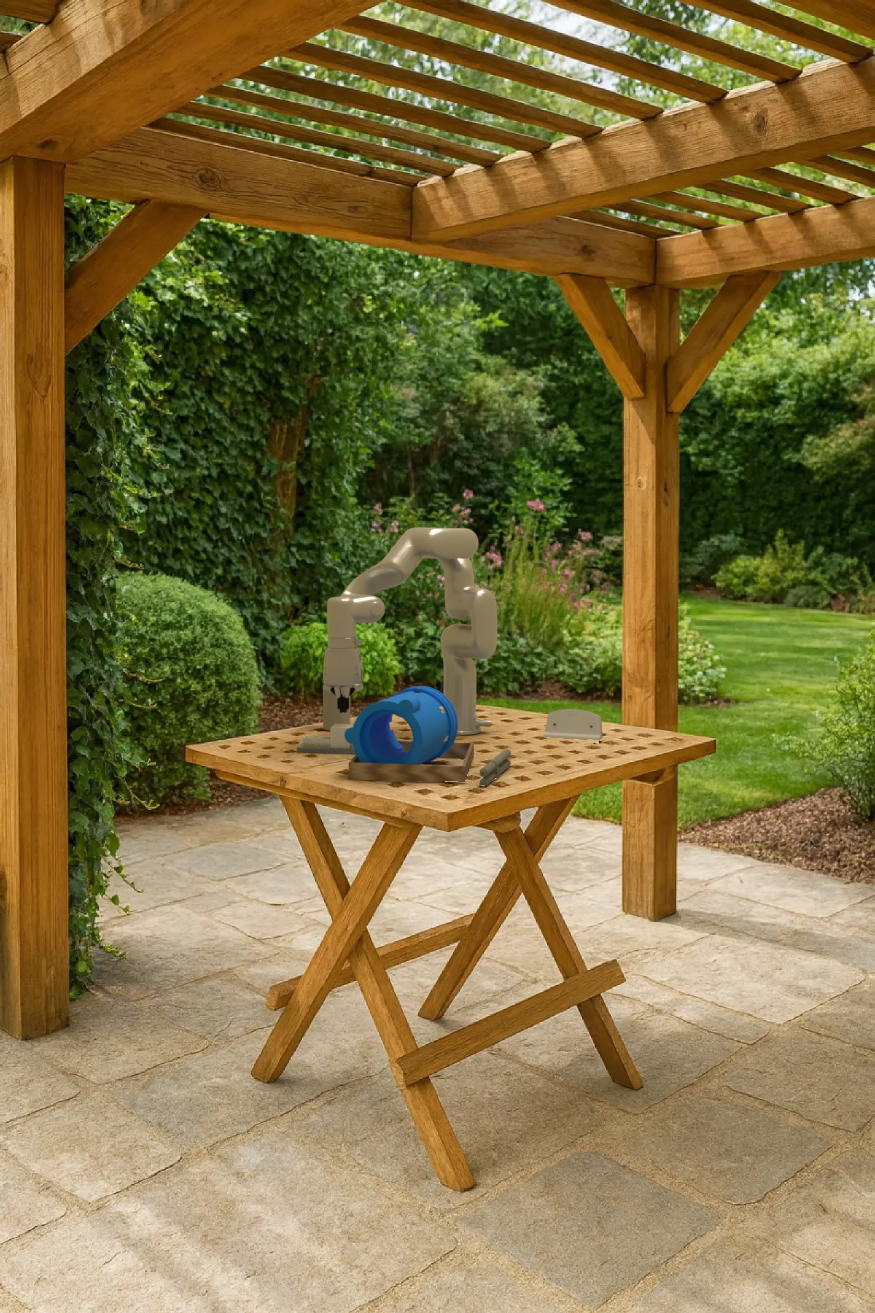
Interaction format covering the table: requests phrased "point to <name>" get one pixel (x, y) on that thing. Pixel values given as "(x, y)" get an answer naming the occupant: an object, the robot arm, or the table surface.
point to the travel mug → (333, 710)
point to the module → (339, 735)
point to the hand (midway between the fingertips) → (343, 711)
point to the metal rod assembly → (495, 767)
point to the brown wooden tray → (416, 767)
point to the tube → (421, 715)
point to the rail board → (322, 746)
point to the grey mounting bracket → (573, 725)
